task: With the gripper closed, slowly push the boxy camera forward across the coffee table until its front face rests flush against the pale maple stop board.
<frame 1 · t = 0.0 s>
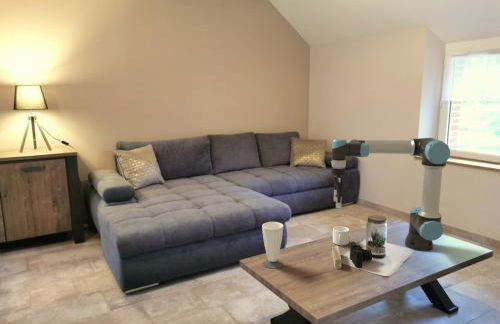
hand: (337, 204, 209), 28 cm above the table, fingers open, 13 cm apart
mug: (341, 244, 224), on the table
board: (336, 261, 202), on the table
cup: (272, 264, 199), on the table
camera: (361, 262, 200), on the table
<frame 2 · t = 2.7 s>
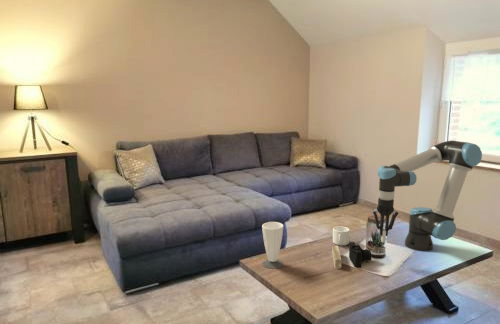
hand: (383, 241, 196), 12 cm above the table, fingers closed
nothing on the table moved.
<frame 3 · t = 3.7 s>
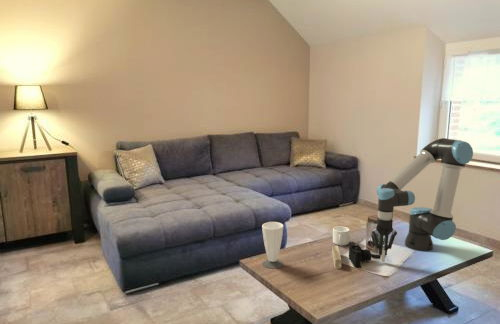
hand: (382, 260, 198), 2 cm above the table, fingers closed
nothing on the table moved.
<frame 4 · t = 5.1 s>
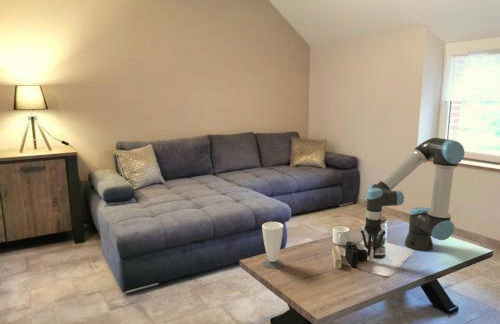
hand: (371, 260, 199), 2 cm above the table, fingers closed
camera: (356, 262, 200), on the table, touching gripper
everything else where it was.
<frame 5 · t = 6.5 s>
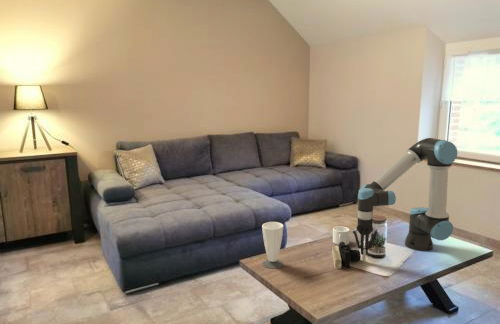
hand: (363, 260, 199), 1 cm above the table, fingers closed
camera: (349, 263, 200), on the table, touching board, gripper
everything else where it was.
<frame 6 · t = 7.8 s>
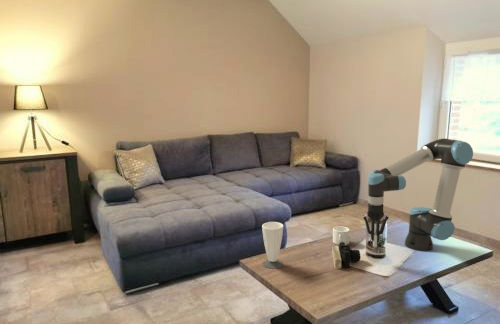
hand: (374, 246, 198), 9 cm above the table, fingers closed
camera: (349, 263, 200), on the table
everything else where it was.
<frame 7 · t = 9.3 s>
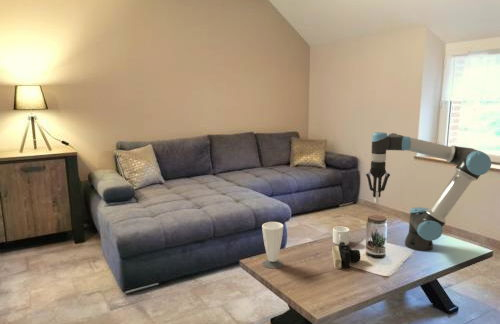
hand: (376, 202, 207), 29 cm above the table, fingers closed
nothing on the table moved.
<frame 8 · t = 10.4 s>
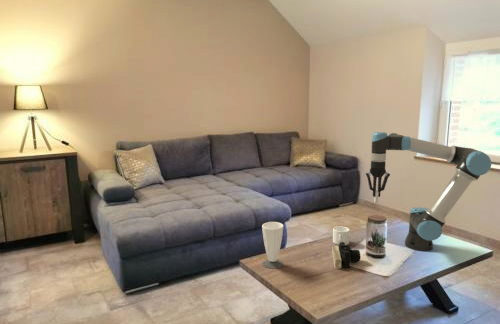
hand: (376, 202, 207), 29 cm above the table, fingers closed
nothing on the table moved.
at the end: camera inside the target area on the table beside the board (1.1 cm from its centre), on the table; camera tilted 0° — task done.
